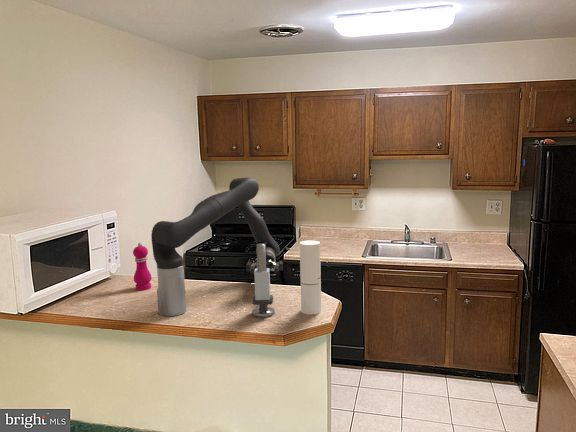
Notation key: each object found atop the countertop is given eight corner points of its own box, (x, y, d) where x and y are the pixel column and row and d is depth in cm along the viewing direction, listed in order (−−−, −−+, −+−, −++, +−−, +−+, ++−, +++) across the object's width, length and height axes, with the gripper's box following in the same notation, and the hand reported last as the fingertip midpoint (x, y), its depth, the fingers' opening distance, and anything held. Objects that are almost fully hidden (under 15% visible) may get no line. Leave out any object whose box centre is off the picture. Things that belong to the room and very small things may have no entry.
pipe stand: (251, 317, 156) (248, 247, 152) (253, 309, 164) (250, 242, 160) (274, 317, 156) (272, 246, 152) (275, 308, 164) (272, 241, 160)
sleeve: (255, 300, 156) (254, 272, 155) (256, 295, 161) (255, 268, 160) (269, 299, 156) (268, 272, 155) (270, 295, 161) (269, 268, 160)
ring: (252, 305, 156) (252, 301, 155) (253, 298, 163) (253, 294, 162) (272, 305, 156) (272, 300, 155) (273, 298, 163) (273, 294, 162)
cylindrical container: (324, 309, 162) (323, 241, 158) (314, 316, 156) (313, 245, 152) (308, 306, 166) (306, 239, 162) (297, 312, 160) (295, 243, 156)
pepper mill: (148, 284, 197) (144, 239, 194) (155, 288, 192) (151, 242, 189) (132, 288, 193) (128, 242, 190) (138, 292, 187) (134, 245, 184)
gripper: (248, 251, 185) (244, 262, 169) (283, 250, 185) (282, 261, 169) (249, 269, 186) (245, 281, 170) (283, 268, 186) (283, 280, 170)
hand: (264, 271), depth 170 cm, fingers open, 8 cm apart
